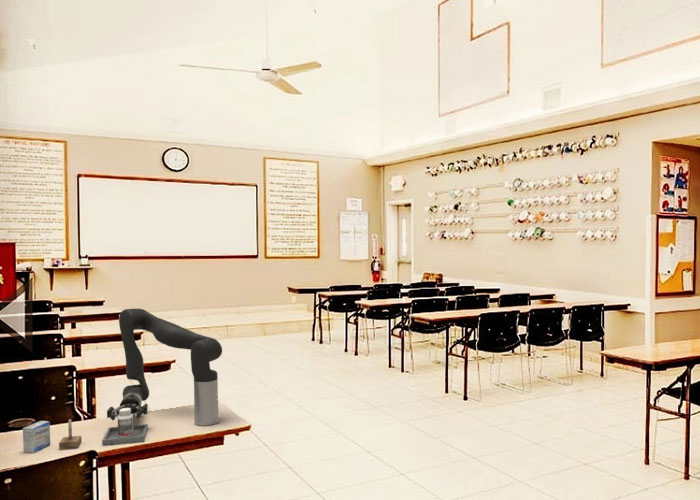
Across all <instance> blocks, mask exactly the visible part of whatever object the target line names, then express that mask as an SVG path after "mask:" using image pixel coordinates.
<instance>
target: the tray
mask: <svg viewBox="0 0 700 500" xmlns="http://www.w3.org/2000/svg"><path fill="white" fill-rule="evenodd" d="M133 430H134V432H133V435H132V436H130V437H125V438H121V437H119V436H118V426H113V427H112V426H111V427H108V429H107V431H106V432H105V434H104V436H103V438H102V440H101V443H102V444H101V445H102V447H105V446H114V445H115V446H117V445H124V444H125V445H126V444H136V443H138V444H139V443H144V442H145V439H146V437H147V433H148V430H149V424H148V423H145V424H135V425H134V424H133Z"/></svg>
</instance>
